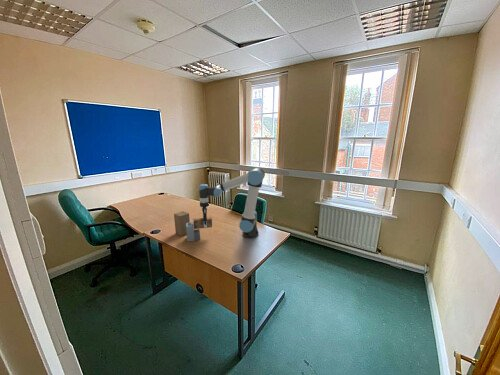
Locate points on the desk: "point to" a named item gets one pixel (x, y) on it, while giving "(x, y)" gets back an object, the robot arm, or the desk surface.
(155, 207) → the desk surface
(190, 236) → the gray block with ears
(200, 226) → the rail
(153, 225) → the desk surface
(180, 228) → the wooden block
